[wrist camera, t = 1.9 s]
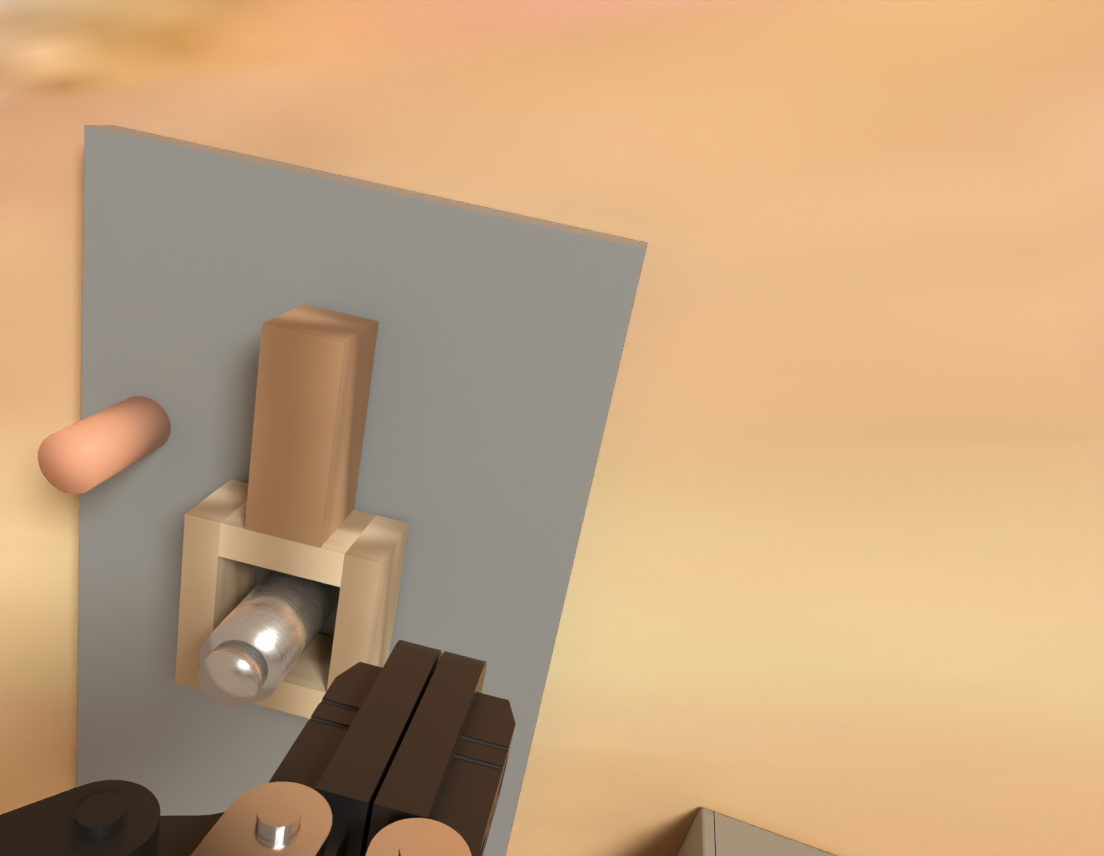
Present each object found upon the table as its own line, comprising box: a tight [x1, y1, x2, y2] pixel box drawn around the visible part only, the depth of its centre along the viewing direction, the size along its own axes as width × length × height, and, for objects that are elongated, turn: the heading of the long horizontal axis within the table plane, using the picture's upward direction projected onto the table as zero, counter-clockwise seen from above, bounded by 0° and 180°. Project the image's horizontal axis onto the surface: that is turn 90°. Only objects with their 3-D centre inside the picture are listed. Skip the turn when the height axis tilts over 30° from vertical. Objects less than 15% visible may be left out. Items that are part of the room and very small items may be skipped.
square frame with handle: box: [175, 304, 410, 719], centre depth 29 cm, size 6×13×3 cm, turn 169°
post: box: [198, 570, 340, 707], centre depth 29 cm, size 3×3×6 cm
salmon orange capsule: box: [38, 396, 171, 494], centre depth 29 cm, size 2×2×4 cm
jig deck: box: [76, 125, 647, 856], centre depth 33 cm, size 18×28×2 cm, turn 169°
